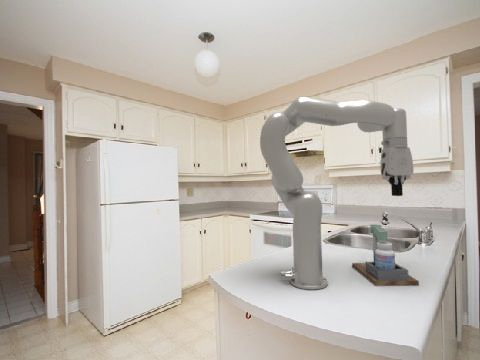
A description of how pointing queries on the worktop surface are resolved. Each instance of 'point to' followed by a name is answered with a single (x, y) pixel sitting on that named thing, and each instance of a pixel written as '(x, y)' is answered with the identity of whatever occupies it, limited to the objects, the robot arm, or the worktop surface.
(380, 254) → the pill bottle
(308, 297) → the worktop surface
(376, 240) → the post
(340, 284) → the worktop surface
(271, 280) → the worktop surface
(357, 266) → the walnut board
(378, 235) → the bar
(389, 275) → the socket
